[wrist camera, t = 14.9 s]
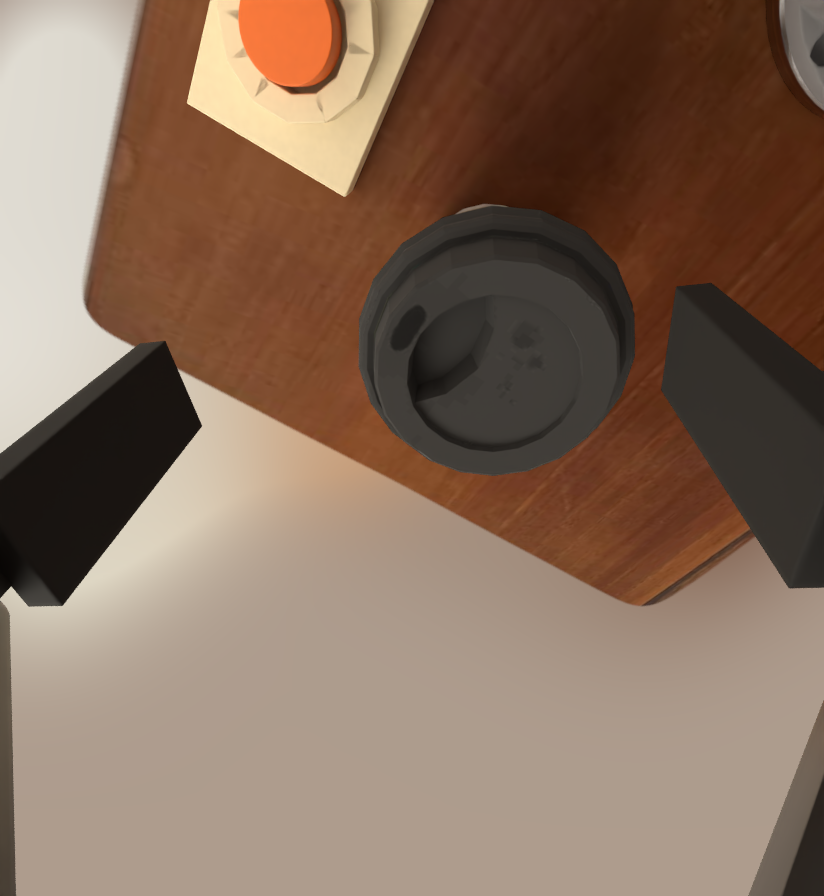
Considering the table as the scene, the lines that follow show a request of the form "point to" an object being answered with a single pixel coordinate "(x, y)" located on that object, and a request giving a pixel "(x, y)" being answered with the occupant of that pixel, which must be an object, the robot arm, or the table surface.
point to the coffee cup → (496, 339)
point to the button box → (311, 88)
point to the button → (291, 39)
